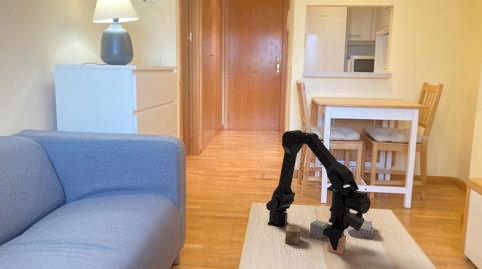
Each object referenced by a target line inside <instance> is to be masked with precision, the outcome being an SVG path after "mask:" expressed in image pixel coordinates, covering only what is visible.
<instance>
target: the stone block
mask: <svg viewBox="0 0 482 269" xmlns="http://www.w3.org/2000/svg"><path fill="white" fill-rule="evenodd" d="M364 220H365V221H364V223H363V225H362V227H361V228H360V230H359V231H357V230H355V229H354V228H352V227H350V226H349V227H348V228H347V229H346V232H347V234H348V235H349V236H350V237H351V238H357V239H370V240H371V239H373V238H374V234H375V233H374V232H375V228H374V226H373V222H372V221H371V220H366V219H364Z"/></svg>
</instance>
